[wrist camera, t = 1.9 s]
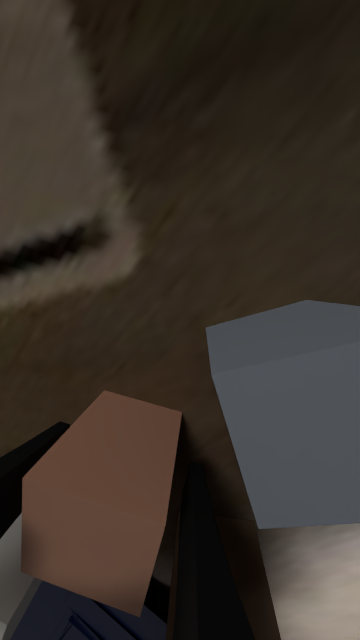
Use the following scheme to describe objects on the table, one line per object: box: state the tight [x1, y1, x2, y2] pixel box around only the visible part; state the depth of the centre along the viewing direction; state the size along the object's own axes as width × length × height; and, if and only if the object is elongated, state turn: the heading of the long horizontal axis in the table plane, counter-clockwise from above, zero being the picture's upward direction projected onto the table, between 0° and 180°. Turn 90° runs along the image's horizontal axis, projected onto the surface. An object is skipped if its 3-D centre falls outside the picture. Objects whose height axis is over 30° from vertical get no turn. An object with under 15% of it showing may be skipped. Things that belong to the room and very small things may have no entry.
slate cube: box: [206, 300, 360, 529], centre depth 6 cm, size 5×5×5 cm
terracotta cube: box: [21, 390, 182, 617], centre depth 8 cm, size 5×5×5 cm
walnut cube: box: [166, 511, 281, 640], centre depth 9 cm, size 5×5×5 cm
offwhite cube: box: [0, 513, 42, 640], centre depth 10 cm, size 5×5×5 cm
